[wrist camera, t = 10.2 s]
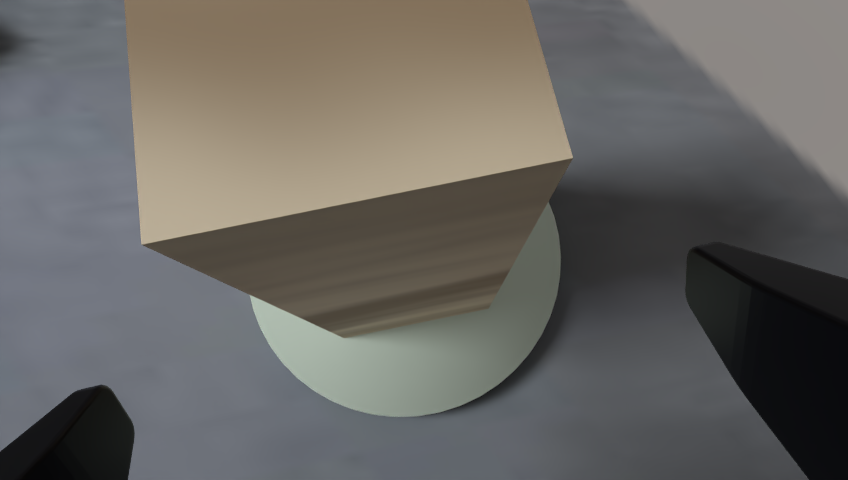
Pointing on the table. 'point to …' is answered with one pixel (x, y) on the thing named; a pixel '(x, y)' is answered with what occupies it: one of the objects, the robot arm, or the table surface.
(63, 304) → the table surface
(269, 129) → the maple block
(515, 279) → the sage mat
